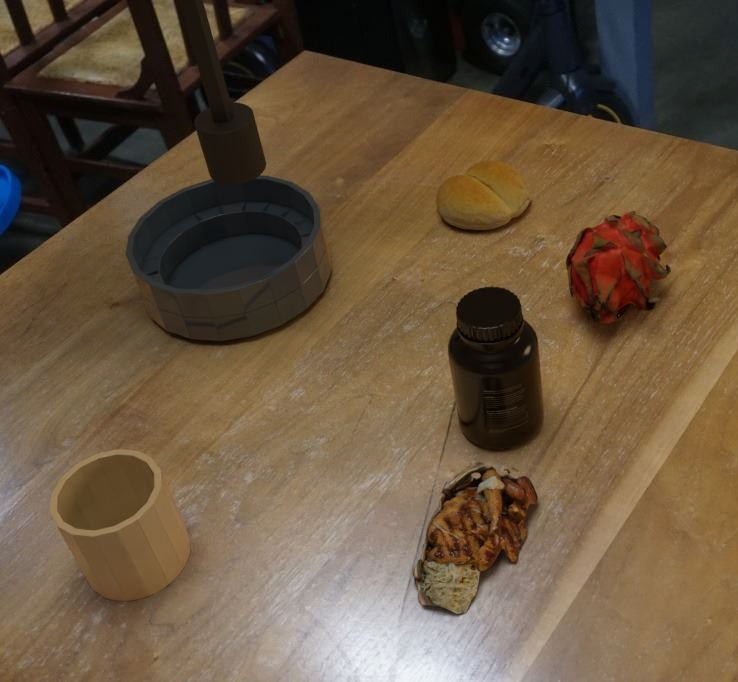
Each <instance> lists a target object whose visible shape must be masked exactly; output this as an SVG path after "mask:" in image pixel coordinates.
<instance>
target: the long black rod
mask: <svg viewBox="0 0 738 682" xmlns="http://www.w3.org/2000/svg"><path fill="white" fill-rule="evenodd" d="M178 3H179V6H180V10H181V13H182V16H183V20H184V23H185V27H186V30H187V34H188V37H189V41H190V45H191V48H192V51H193V55H194V59H195V62H196V64H197V68H198V72H199V75H200V79H201V82H202V86H203V90H204V93H205V96H206V99H207V103H208V107H207V108H205V109H203V110H202V111H200V112H199V113H198V114H197V115H196V117H195V119H194V121H193V122H194V123H193V124H194V129H195V131H196V135H197V138H198V141H199V145H200V148H201V151H202V155H203V157H204V161H205V164H206V167H207V172H208V175H209V177H210V179H213V180H214V181H215V182H217V183H220V184H224V185H237V184H242V183H246V182H249V181H251V180H253V179H255V178H257V177H258V176H260V175H263V173H264V171H265V170H266V168H267V161H266V156H265V153H264V149H263V145H262V141H261V137H260V134H259V129H258V125H257V121H256V117H255V114H254V110H253V109H252V108H251V107H250V106H249V105H247V104H245V103H243V102H237V101H236V102H233V101H232V102H231V98H230V95H229V91H228V87H227V84H226V81H225V80H226V79H225V77H224V76H225V75H224V73H223V69H222V66H221V62H220V59H219V55H218V51H217V50H218V49H217V47H216V44H215V40H214V36H213V32H212V28H211V25H210V22H209V21H210V20H209V18H208V14H207V11H206V7H205V2H204V0H178Z"/></svg>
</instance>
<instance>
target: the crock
mask: <svg viewBox="0 0 738 682" xmlns="http://www.w3.org/2000/svg"><path fill="white" fill-rule="evenodd" d="M49 500H50V501H49V510H48V511H49V515H50V517H51V518H52V521H53V522H54V524H55V526H56V527H57V529H58V532H59V533H60V535H61V536H62V538H63V540H64V542H65V544H66V545H67V547H68V549H69V551H70V552H71V555H72V556H73V557H74V559H75V561H76V563H77V565H78V567H79V568H80V570H81V571H82V574H83V575H84V577H85V579H86V580H87V582H88V584H89V586H90V587H91V589H92V591H94V592H96V594H98V595H99V596H101V597H103V598H105V599H108V600H111V601H117V602H129V601H136V600H140V599H144V598H148V597H150V596H153V595H154V594H157V593H158V592H160V591H161V590H163V589H165V588H167V586H169V585H170V584H172V582H174V581H175V579H177V577H178V576H179V575H180V574H181V573H182V571H184V568H185V567H186V565H187V563H188V560H189V557H190V554H191V537H190V534H189V531H188V529H187V527H186V525H185V522H184V520H183V517H182V515H181V513H180V511H179V509H178V506H177V504H176V501H175V499H174V497H173V495H172V493H171V490H170V488H169V486H168V483H167V481H166V478H165V475H163V471H162V470H161V468H160V467H159V465H158V464H157V462H156V460H155V459H154V458H153V457H151V456H149V455H147V454H145V453H143V452H142V451H139V450H135V449H134V450H133V449H121V448H118V449H117V448H116V449H112V450H107V451H102V452H99V453H95V454H93V455H91V456H89V457H88V458H86V459H84V460H81V461H79V462H78V463H77V462H76V464H74V465H73V466H72V467H71V468H70V469H69V470H68V471H67V472H65V473H64V475H62V476H61V477H60V479H58V482H57V483H56V485H55V487H54V489H53V491H52V492H51V494H50V498H49Z"/></svg>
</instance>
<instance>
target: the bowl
mask: <svg viewBox="0 0 738 682" xmlns="http://www.w3.org/2000/svg"><path fill="white" fill-rule="evenodd" d="M125 258H126V261H127V263H128V265H129V268H130V270H131V273H132V276H133V278H134V281H135V283H136V286H137V289H138V291H139V294H140V295H141V296H140V297H141V299H142V302H143V304H144V306H145V309H146V311H147V313H148V315H149V317H150V319H152V320H153V321H154V322H155V323H156V324H158V325H159V326H160V327H161V328H163V330H165V331H166V332H169V333H172V334H175V335H177V336H180V337H184V338H186V339H188V340H189V339H190V340H196V341H197V340H198V341H216V342H225V341H229V340H230V341H231V340H237V339H243V338H249V337H250V338H251V337H254V336H256V335H259V334H262V333H265V332H267V331H270V330H273V329H275V328H278V327H281V326H282V325H284V324H285V323H287V322H288V321H290V320H292V319H293V318H295V317H296V316H298V315H299V314H301V313H303V312H305V311H306V310H307V309H308V308H309V307H310V306H311V305H312V303H313V302H314V301H315V300H316V299H318V297H319V296H320V295H321V294H322V293H323V292H324V290H325V288H326V286H327V282H328V280H329V278H330V275H331V273H332V263H331V251H330V247H329V242H328V239H327V233H326V230H325V225H324V221H323V217H322V212H321V208H320V206H319V204H318V203H317V202H316V200H315V198H314V197H313V196H312V194H311V193H310V192H309V191H308V190H306V189H304V188H303V187H301V186H299V185H298V184H296V183H294V182H293V181H291V180H287V179H283V178H279V177H275V176H271V175H265V174H264V175H263V174H261V175H260V176H258V177H257V178H255V179H253V180H251V181H249V182H246V183H242V184H237V185H224V184H220V183H217V182H215V181H214V180H213V179H212V178H209V179H206V180H204V181H201V182H198V183H195V184H191V185H189V186H185V187H182V188H181V189H179V190H177V191H174V192H173V193H171V194H169V195H168V196H166V197H164V198H162V199H160V200H159V201H157V202H156V203H155V204H154V205H153V206H151V207H150V209H148V210H147V211H146V212H145V213H144V214H142V215H141V216H140V217H139V219H137V221H136V223H135V225H134V226H133V228H132V229H131V231H130V233H128V236H127V240H126V249H125Z"/></svg>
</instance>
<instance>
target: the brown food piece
mask: <svg viewBox="0 0 738 682" xmlns="http://www.w3.org/2000/svg"><path fill="white" fill-rule="evenodd" d="M476 460H477V461H476ZM476 460H472V461H470V462H469V465H468V466H467V467H466V468H465V469H462V470H458V471H456V472H455V474H454V476H453V479H452V480H451V481H447V482H445V484H444V486H443V487H442V490H441V493H440V497H439V502H438V505H437V507H436V509H435V511H434V513H433V514H432V516H431V517H430V520H429V522H428V523H427V527H426V531H425V538H424V544H423V545H422V550H421V555H420V558H419V559H418V560H417V561H416V564H415V566H414V568H413V571H412V576H413V581H414V585H415V588H416V589H417V598H418V600H419V602H420V603H421V605H423V606H434V607H440V608H443V609H447V610H448V611H450V612H452V613H454V614H456V615H459V614H466V613H467V612H468V609H469V607H470V605H471V603H472V601H473V599H474V598H475V596H476V595H477V591H478V587H479V583H480V582H479V580H480V575H481V572H482V571H486V570H488V569H489V568H491V567H492V566H493V564H495V561H496V559H497V558H498V556H499V554H500V553H501V551H502V550H504V553H505V556H507V557H508V559H509V560H510V561H511V563H514V564H515V563H517V561H518V560H519V549H520V546H522V545H523V543H524V542H525V538H526V537H527V534H528V526H527V523H526V521H525V520H526V517H527V513H528V510H529V505H531V504H532V505H533V504H534V505H536V504H537V502H538V498H539V495H538V492H537V489H536V487H535V485H534V483H533V482H532V480H531V479H530V478H529V477H528V476H525V475H522V476H518V477H514V476H512V475H511V470H512V471H515V472H517V473H518V472H519V469H517V468H515V467H513V466H512V467H511V470H510V469H509V468H504V469H503V471H507V473H505V474H499V473H498V472H497V469H496V468H495V467H494V466H493V465H490V466H486V463H484V462H481V461H479V460H480V458H479V457H477V458H476ZM473 474H479V475H480V476H479V477H477V478H476V477H473V478H472V480H470V481H469V479H470V478H471V477H472V475H473ZM467 481H468V482H467ZM465 482H466V483H465ZM464 483H465V484H464Z"/></svg>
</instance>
